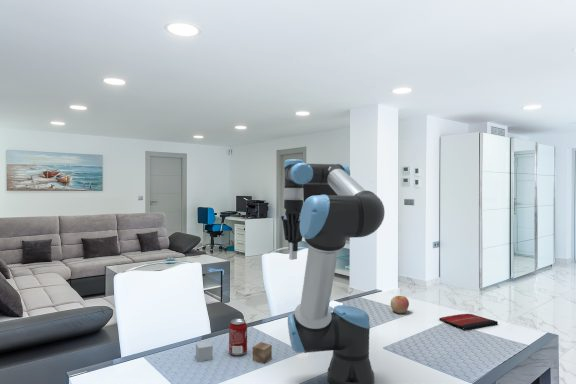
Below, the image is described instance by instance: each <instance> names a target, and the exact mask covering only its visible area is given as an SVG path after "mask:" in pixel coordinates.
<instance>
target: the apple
mask: <svg viewBox="0 0 576 384" xmlns="http://www.w3.org/2000/svg"><path fill="white" fill-rule="evenodd" d="M409 305H410V301H409V299H408V298H407V297H406V296H404V295H396V296H395V295H394V296H393V297H392V298H391V300H390V308H391V310H392V311H393V312H395V313H397V314H404V313H405V312H407V310H408V309H409Z"/></svg>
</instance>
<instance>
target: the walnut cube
mask: <svg viewBox="0 0 576 384" xmlns="http://www.w3.org/2000/svg"><path fill="white" fill-rule="evenodd" d="M272 346H273V345H272V344H269V343H266V342H262V341H259V342H258V343H256V344H255V345H253V346H252V361H254V362H257V363H261V364H266V362H269V361H270V360H271V359H272V357H273V355H272V354H273V352H272V351H273V350H272V348H273V347H272Z"/></svg>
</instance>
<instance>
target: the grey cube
mask: <svg viewBox="0 0 576 384" xmlns="http://www.w3.org/2000/svg"><path fill="white" fill-rule="evenodd" d="M213 352H214V351H213V344H212V343H211V341H210V340H207V341H200V342H195V357H196V360H197V362H198V363H201V362H205V361H211V360H213V354H214V353H213Z"/></svg>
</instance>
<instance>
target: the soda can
mask: <svg viewBox="0 0 576 384" xmlns="http://www.w3.org/2000/svg"><path fill="white" fill-rule="evenodd" d="M228 352H229V354H231V355H233V356H243V355H244V354H246V353H247V352H248V324H247V321H246V319H245V318H244V319H243V318H233V319H232V320H230V324H229V326H228Z"/></svg>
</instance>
